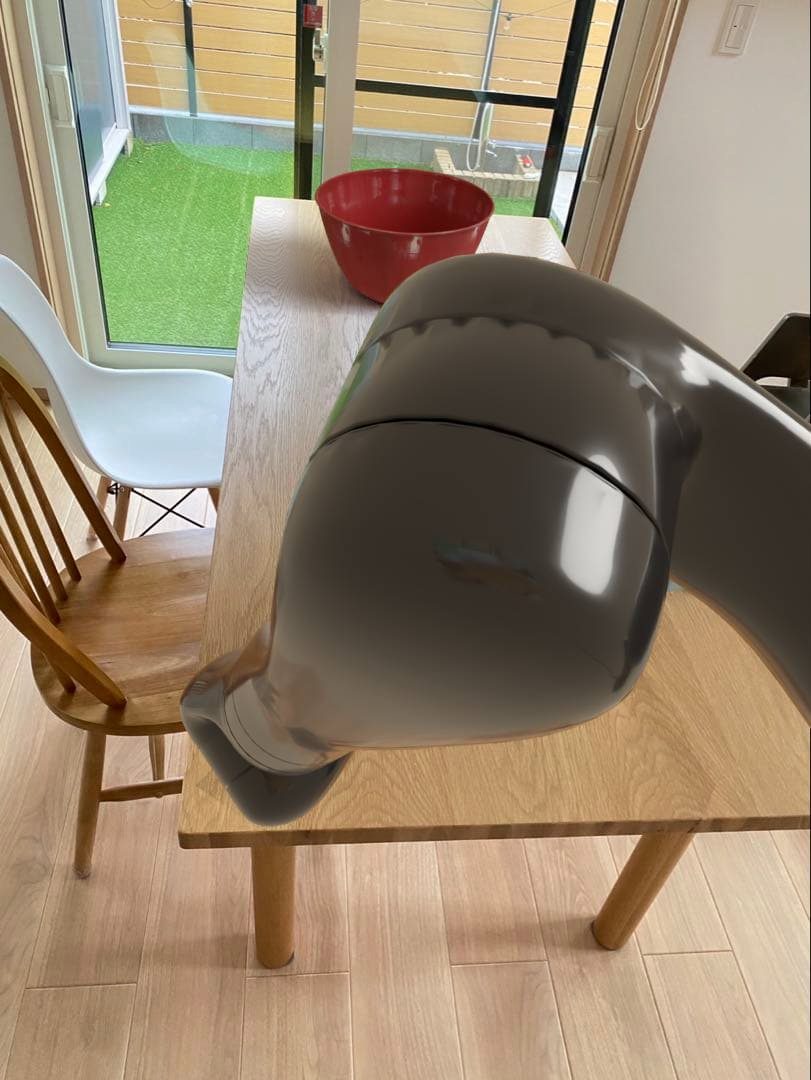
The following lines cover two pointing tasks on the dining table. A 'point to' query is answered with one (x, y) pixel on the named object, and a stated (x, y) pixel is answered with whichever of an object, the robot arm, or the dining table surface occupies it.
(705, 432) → the robot arm
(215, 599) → the dining table surface
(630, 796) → the dining table surface
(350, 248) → the mixing bowl
